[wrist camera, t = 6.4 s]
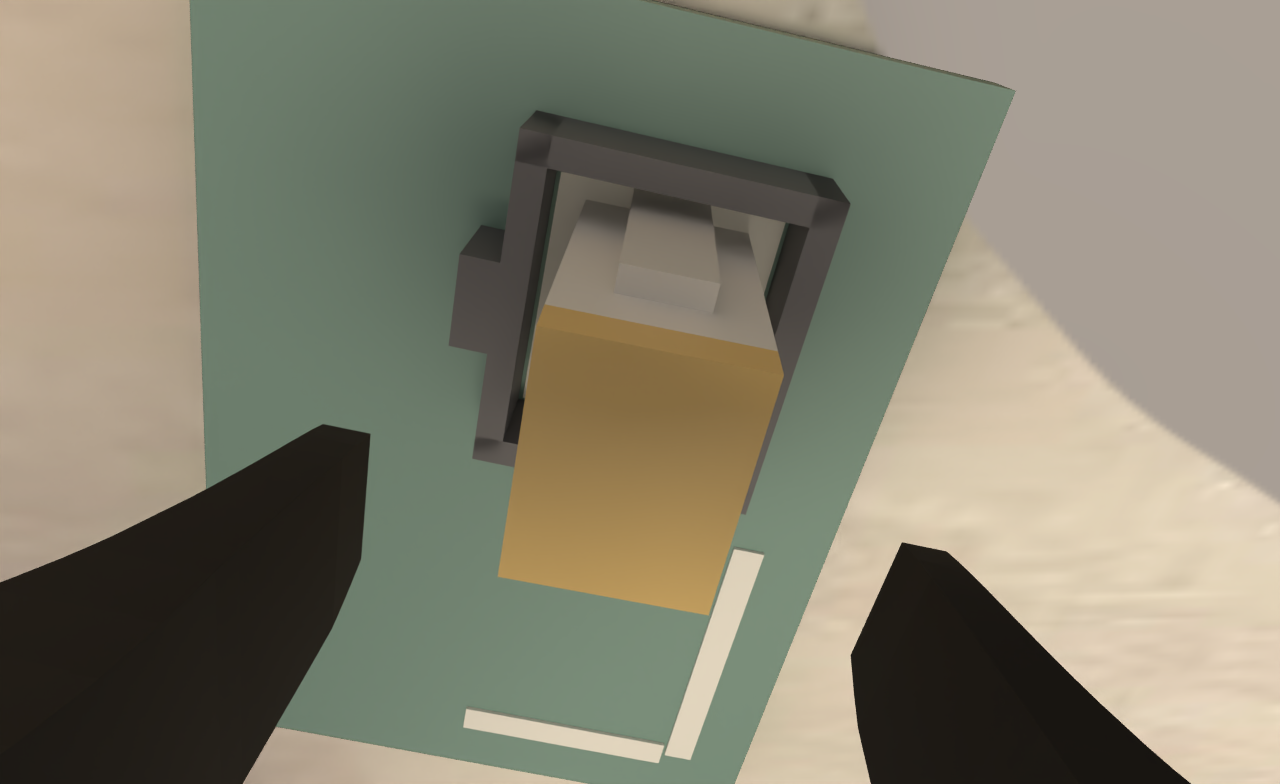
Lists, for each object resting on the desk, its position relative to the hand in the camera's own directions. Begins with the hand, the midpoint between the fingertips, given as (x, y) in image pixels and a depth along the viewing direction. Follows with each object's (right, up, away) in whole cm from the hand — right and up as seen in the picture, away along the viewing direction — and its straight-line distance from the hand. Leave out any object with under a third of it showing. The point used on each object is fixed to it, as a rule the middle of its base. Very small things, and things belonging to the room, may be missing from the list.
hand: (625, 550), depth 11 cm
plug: (0, +4, +8) cm, 9 cm away
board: (-3, +1, +11) cm, 11 cm away
